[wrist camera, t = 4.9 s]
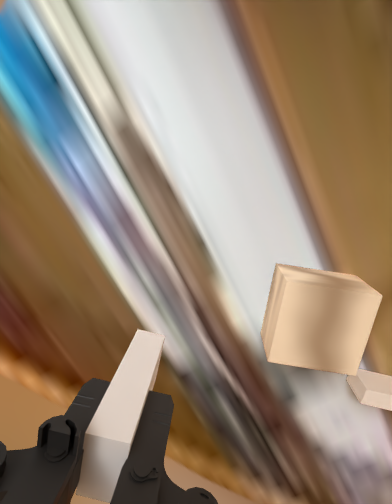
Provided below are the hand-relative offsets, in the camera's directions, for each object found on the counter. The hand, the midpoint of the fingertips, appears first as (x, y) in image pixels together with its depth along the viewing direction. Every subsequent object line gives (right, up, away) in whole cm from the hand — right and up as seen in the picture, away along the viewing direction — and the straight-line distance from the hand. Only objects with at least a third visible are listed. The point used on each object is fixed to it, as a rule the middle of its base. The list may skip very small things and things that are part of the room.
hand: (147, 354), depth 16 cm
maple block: (+13, +1, +11) cm, 17 cm away
